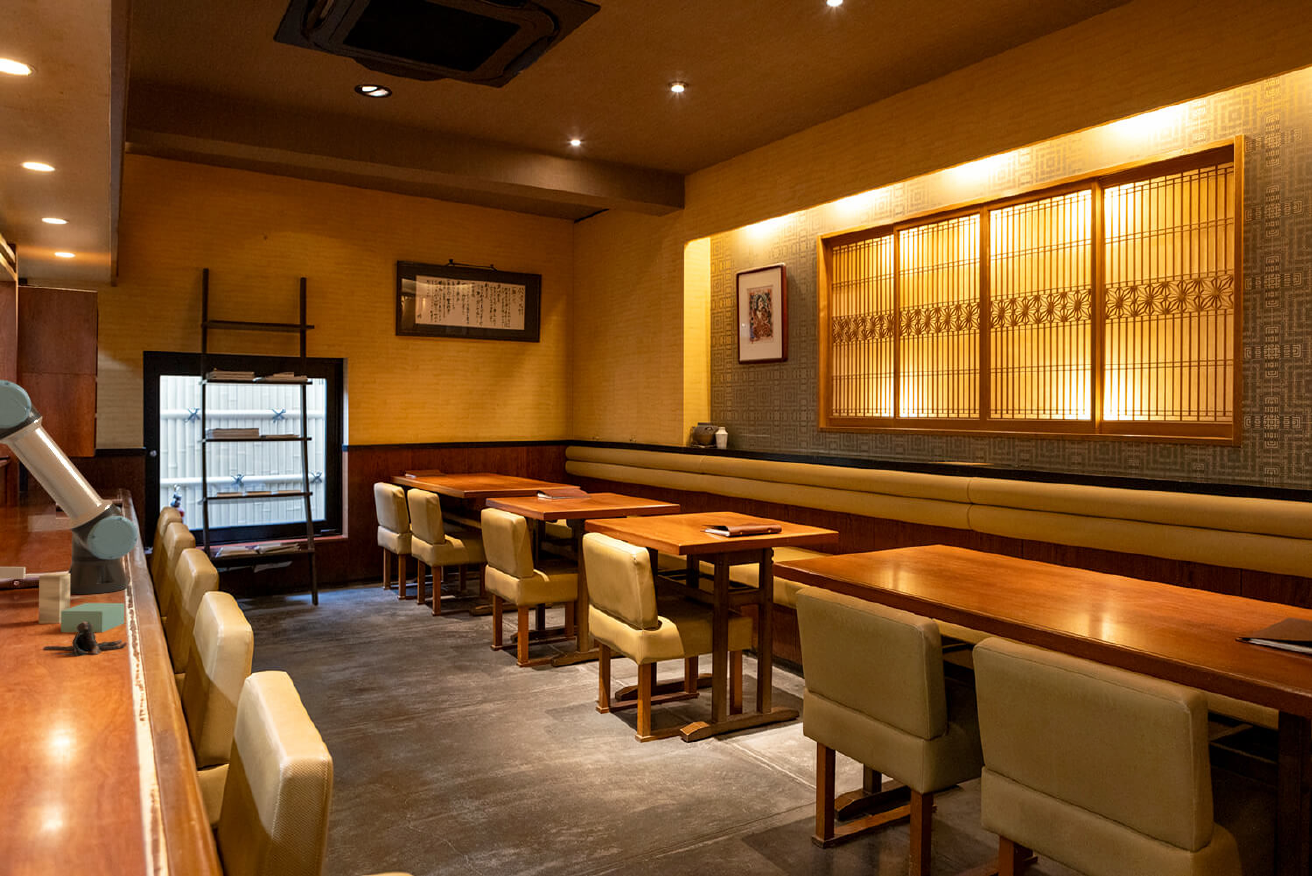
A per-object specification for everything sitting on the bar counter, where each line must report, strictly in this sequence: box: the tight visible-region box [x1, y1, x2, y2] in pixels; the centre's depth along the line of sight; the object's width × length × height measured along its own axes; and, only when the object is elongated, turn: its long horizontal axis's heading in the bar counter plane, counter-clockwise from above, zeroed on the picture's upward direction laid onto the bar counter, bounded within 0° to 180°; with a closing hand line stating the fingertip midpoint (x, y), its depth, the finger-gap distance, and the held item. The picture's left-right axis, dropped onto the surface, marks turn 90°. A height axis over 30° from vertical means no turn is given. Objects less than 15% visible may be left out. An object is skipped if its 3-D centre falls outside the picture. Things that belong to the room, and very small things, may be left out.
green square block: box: [60, 602, 125, 633], centre depth 203 cm, size 9×9×5 cm
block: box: [38, 572, 71, 624], centre depth 208 cm, size 4×4×11 cm
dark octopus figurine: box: [43, 622, 128, 657], centre depth 184 cm, size 12×10×12 cm
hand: (7, 577), depth 207 cm, fingers open, 13 cm apart
